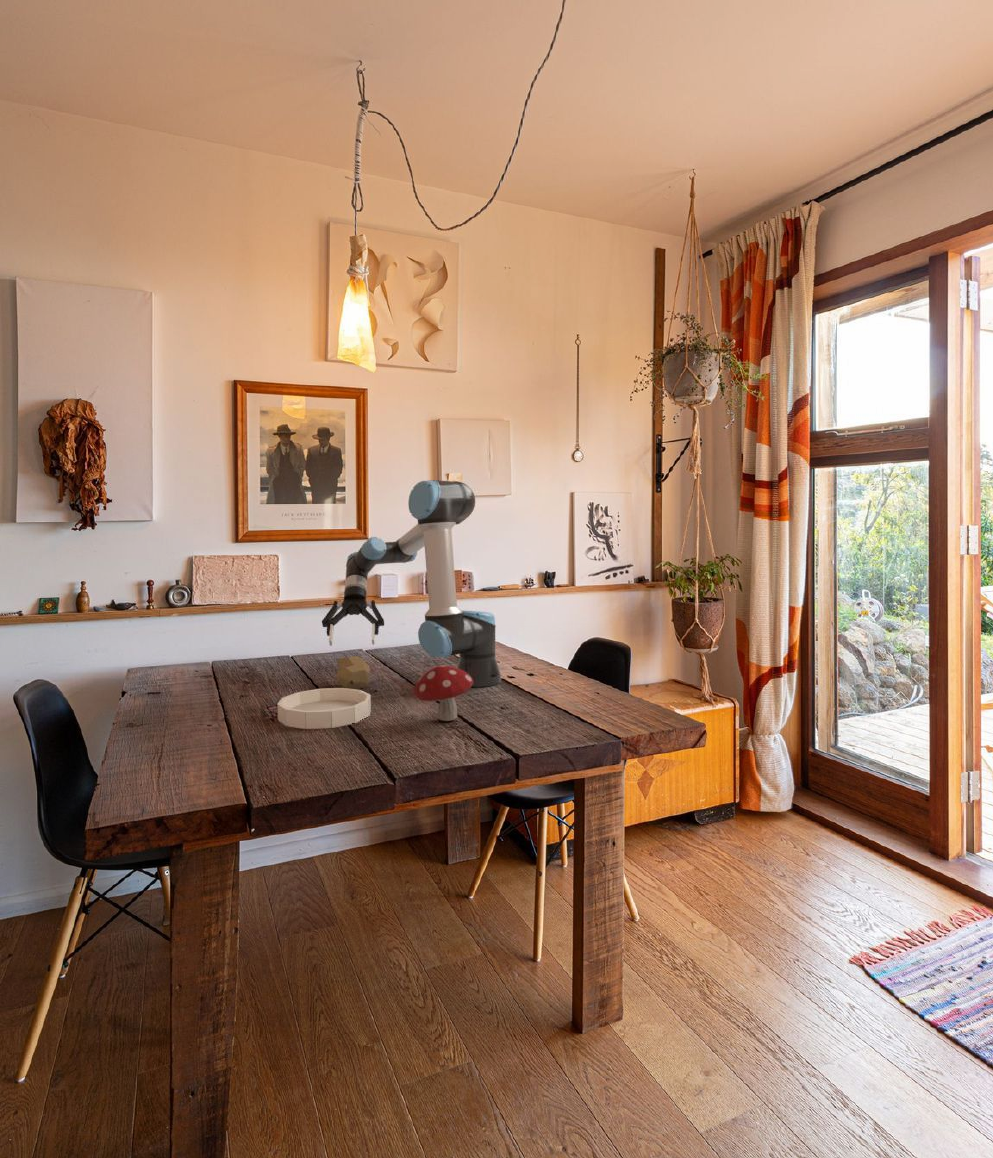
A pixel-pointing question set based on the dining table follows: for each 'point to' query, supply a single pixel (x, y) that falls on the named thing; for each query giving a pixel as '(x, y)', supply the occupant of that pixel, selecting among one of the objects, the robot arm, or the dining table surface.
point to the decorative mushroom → (443, 689)
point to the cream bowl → (324, 708)
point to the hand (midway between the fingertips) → (351, 642)
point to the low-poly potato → (352, 672)
